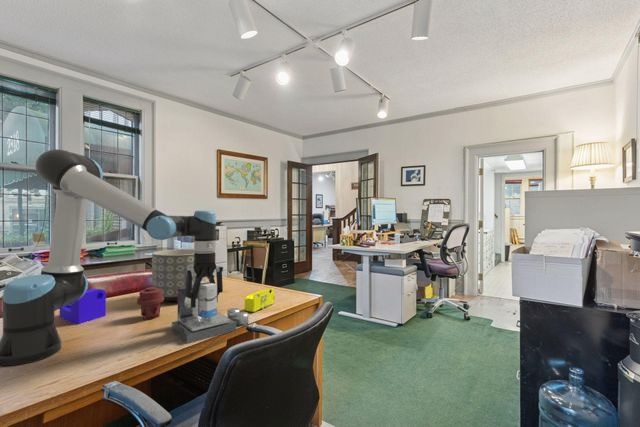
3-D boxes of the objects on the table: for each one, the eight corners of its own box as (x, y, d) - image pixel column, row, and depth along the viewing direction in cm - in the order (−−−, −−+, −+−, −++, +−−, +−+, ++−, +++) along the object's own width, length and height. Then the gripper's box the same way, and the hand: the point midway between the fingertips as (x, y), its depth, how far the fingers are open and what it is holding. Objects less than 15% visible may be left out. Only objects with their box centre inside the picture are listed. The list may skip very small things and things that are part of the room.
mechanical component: (169, 314, 134) (152, 322, 125) (149, 312, 136) (131, 320, 127) (169, 286, 134) (152, 291, 125) (149, 284, 136) (131, 290, 127)
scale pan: (191, 331, 106) (191, 328, 106) (179, 321, 116) (179, 319, 116) (230, 322, 116) (230, 319, 116) (215, 313, 125) (215, 311, 125)
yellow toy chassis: (254, 313, 136) (254, 294, 136) (244, 311, 139) (244, 293, 139) (275, 304, 151) (275, 287, 151) (265, 302, 153) (265, 285, 153)
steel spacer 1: (230, 322, 125) (230, 312, 125) (225, 319, 129) (225, 309, 129) (242, 319, 129) (242, 310, 129) (236, 316, 132) (236, 307, 132)
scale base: (186, 343, 104) (187, 299, 104) (169, 328, 118) (169, 288, 118) (236, 330, 116) (236, 290, 116) (214, 317, 131) (215, 281, 131)
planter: (193, 305, 148) (193, 255, 148) (141, 305, 148) (141, 254, 148) (212, 292, 173) (212, 249, 173) (167, 291, 173) (167, 249, 173)
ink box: (217, 315, 116) (217, 283, 116) (206, 318, 112) (206, 286, 112) (202, 311, 120) (203, 280, 120) (191, 314, 116) (191, 283, 116)
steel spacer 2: (239, 327, 120) (239, 316, 120) (233, 323, 124) (233, 313, 124) (250, 324, 123) (250, 314, 123) (244, 320, 127) (244, 311, 127)
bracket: (105, 316, 132) (105, 288, 132) (78, 324, 122) (79, 294, 122) (75, 311, 138) (75, 285, 138) (47, 319, 128) (47, 290, 128)
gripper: (182, 255, 107) (181, 322, 107) (233, 251, 120) (232, 311, 120) (175, 252, 112) (174, 316, 112) (224, 249, 125) (223, 306, 125)
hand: (204, 313), depth 116 cm, fingers closed on ink box, 6 cm apart
